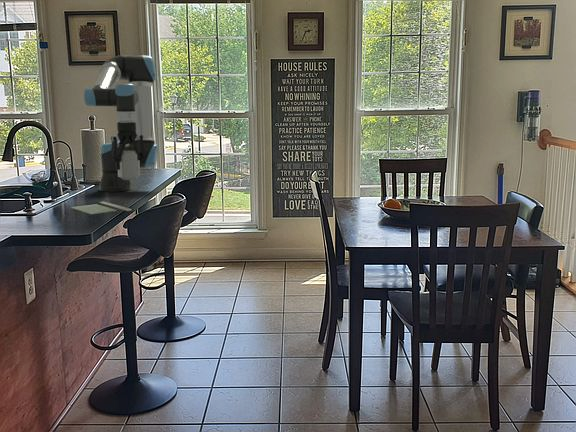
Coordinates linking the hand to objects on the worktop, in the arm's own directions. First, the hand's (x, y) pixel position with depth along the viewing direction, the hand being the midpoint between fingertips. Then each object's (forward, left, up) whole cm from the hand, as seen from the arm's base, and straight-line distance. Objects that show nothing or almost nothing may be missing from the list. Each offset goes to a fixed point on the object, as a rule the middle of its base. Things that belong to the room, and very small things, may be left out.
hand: (129, 176), depth 254 cm
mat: (+18, +2, -12) cm, 21 cm away
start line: (+8, +2, -12) cm, 15 cm away
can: (0, 0, -1) cm, 1 cm away
